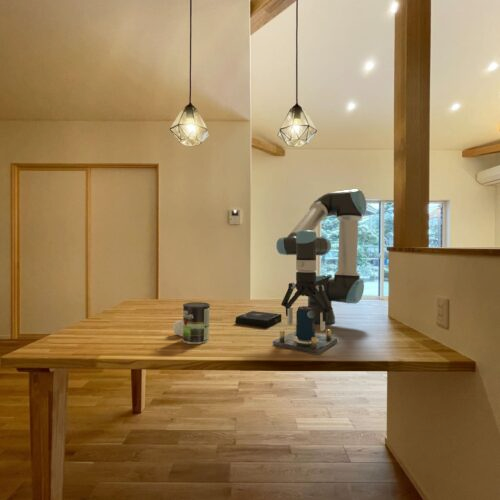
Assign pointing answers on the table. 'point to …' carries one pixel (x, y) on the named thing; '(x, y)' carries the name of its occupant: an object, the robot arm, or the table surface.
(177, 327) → the duck figurine
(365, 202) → the robot arm
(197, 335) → the coffee can
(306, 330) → the soda can
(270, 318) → the portable cd player
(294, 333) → the chassis plate
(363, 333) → the table surface
